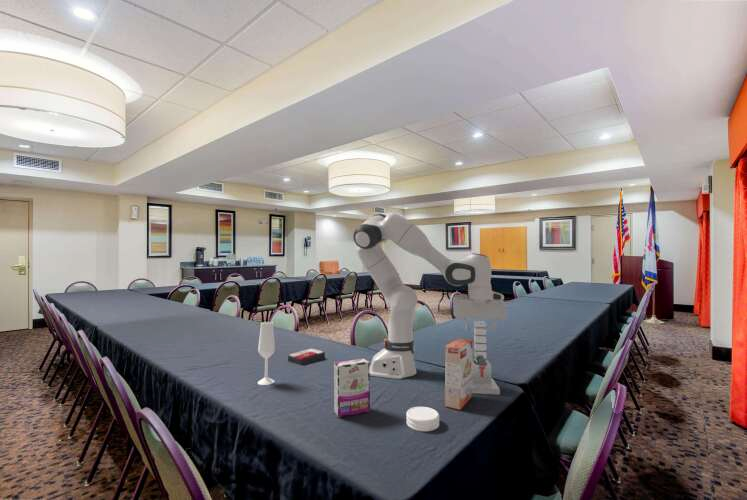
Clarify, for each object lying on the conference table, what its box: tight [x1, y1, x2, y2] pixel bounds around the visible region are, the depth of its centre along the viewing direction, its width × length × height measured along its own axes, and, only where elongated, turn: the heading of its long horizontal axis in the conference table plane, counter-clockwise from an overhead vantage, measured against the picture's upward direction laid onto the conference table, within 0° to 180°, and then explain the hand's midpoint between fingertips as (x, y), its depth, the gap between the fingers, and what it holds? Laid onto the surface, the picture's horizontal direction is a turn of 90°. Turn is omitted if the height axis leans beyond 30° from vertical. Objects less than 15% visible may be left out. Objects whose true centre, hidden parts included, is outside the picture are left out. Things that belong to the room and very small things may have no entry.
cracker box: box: [444, 338, 474, 411], centre depth 121 cm, size 14×6×21 cm, turn 148°
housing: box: [472, 358, 501, 396], centre depth 135 cm, size 12×12×12 cm
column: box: [473, 320, 488, 364], centre depth 135 cm, size 4×4×20 cm
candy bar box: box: [333, 358, 371, 418], centre depth 113 cm, size 11×5×16 cm, turn 113°
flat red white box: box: [287, 348, 326, 366], centre depth 172 cm, size 11×4×15 cm
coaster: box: [405, 406, 440, 432], centre depth 105 cm, size 10×10×4 cm
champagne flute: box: [257, 321, 276, 386], centre depth 141 cm, size 7×7×24 cm
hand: (479, 329), depth 135 cm, fingers open, 8 cm apart
